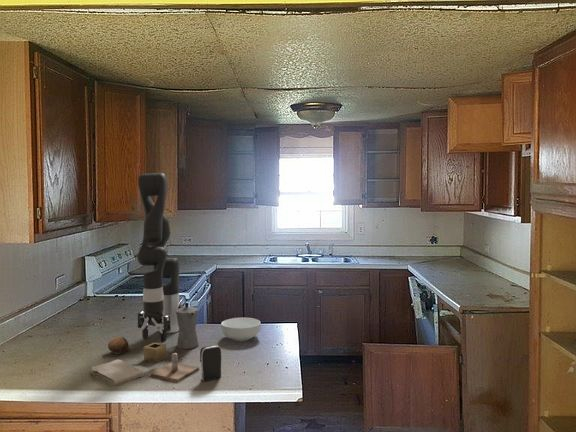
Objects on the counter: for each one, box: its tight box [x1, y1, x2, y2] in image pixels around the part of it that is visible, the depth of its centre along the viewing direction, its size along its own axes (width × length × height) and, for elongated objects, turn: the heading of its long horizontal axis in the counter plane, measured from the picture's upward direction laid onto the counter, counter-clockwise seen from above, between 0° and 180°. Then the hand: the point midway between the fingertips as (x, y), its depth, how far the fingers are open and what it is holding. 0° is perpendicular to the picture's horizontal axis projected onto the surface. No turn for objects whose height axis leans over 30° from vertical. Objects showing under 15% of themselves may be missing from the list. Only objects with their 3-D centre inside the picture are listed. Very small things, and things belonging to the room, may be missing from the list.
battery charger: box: [199, 344, 222, 382], centre depth 176 cm, size 7×4×11 cm, turn 121°
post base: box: [150, 352, 200, 383], centre depth 180 cm, size 12×12×7 cm
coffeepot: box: [176, 302, 199, 350], centre depth 210 cm, size 15×9×18 cm, turn 33°
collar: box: [143, 342, 168, 363], centre depth 195 cm, size 6×6×5 cm
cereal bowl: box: [220, 317, 261, 342], centre depth 218 cm, size 17×17×7 cm
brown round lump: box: [107, 336, 129, 355], centre depth 202 cm, size 8×8×6 cm
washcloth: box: [90, 359, 144, 386], centre depth 180 cm, size 12×18×3 cm, turn 49°
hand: (154, 340), depth 194 cm, fingers open, 8 cm apart
